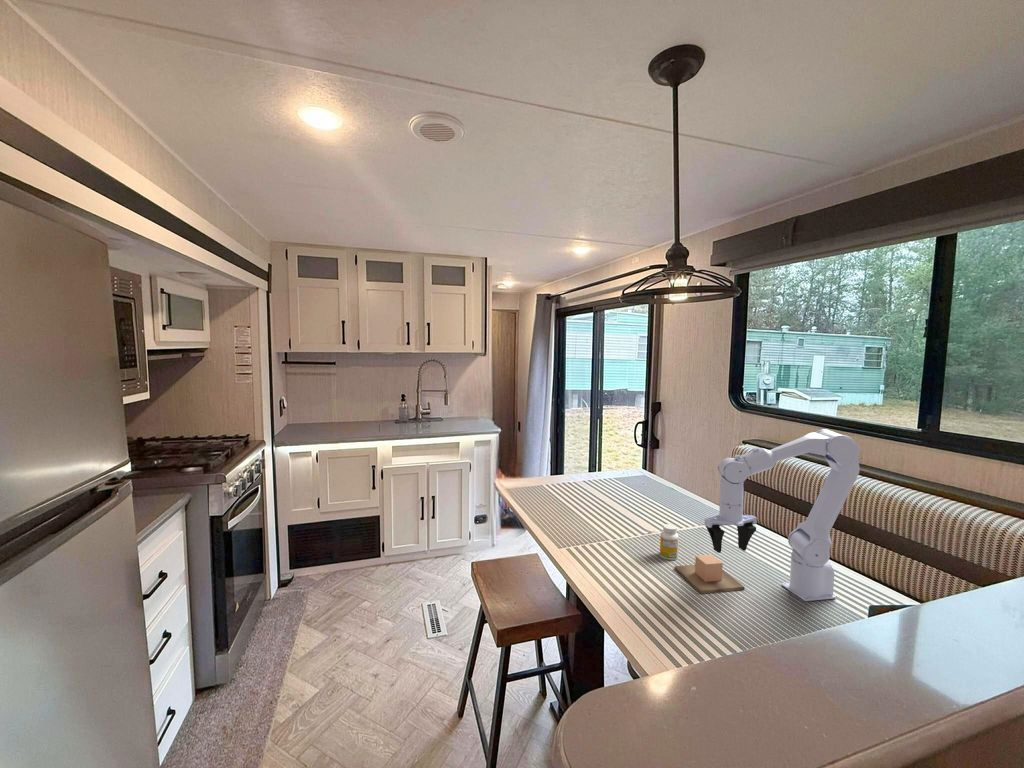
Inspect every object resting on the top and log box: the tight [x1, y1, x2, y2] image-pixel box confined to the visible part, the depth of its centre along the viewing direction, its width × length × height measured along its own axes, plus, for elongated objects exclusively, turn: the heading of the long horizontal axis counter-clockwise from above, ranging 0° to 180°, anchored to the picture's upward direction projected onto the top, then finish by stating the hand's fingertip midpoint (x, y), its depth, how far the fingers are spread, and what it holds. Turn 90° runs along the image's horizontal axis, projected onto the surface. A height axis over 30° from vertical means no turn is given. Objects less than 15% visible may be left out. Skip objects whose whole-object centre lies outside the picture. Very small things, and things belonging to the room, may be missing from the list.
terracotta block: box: [694, 554, 724, 582], centre depth 118 cm, size 5×5×5 cm
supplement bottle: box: [659, 523, 680, 561], centre depth 131 cm, size 5×5×10 cm
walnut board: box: [673, 564, 746, 594], centre depth 118 cm, size 13×13×1 cm
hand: (729, 550), depth 115 cm, fingers open, 7 cm apart
